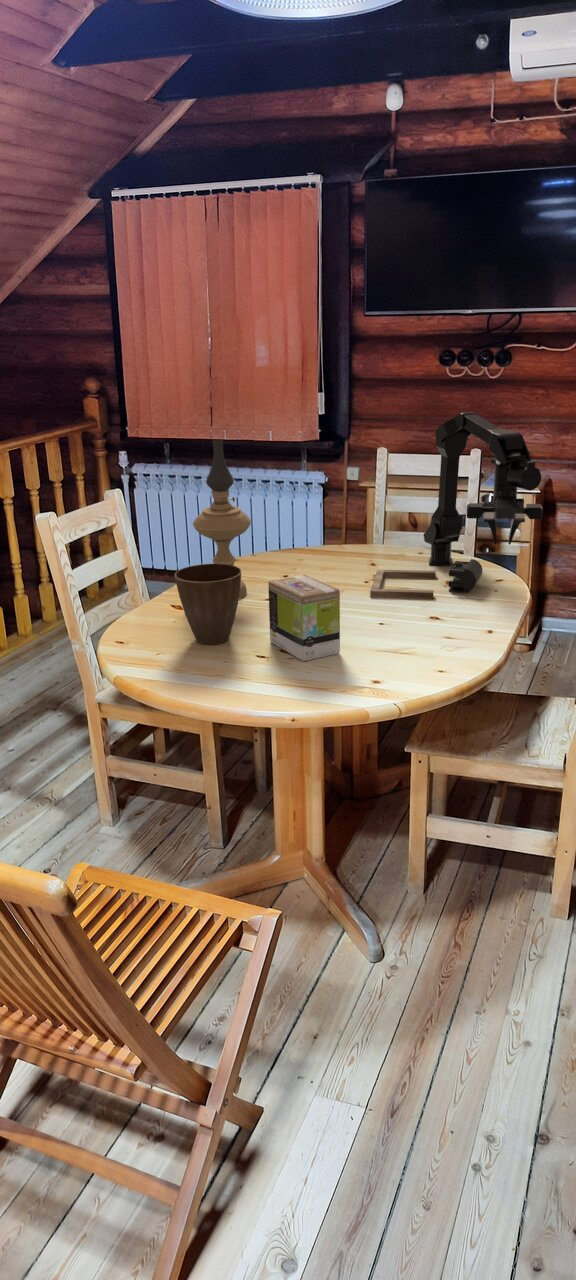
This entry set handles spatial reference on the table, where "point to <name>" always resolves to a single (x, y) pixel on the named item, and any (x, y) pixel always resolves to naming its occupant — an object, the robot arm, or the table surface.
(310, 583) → the tea box
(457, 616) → the table surface
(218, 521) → the oil lamp
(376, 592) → the brown u-shaped frame
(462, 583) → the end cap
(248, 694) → the table surface
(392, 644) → the table surface
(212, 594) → the plant pot
